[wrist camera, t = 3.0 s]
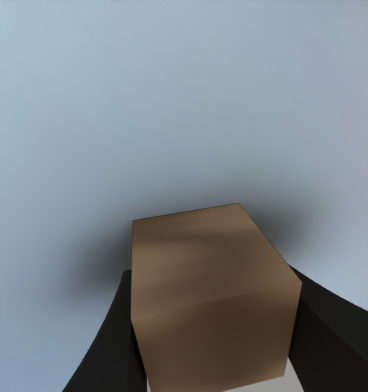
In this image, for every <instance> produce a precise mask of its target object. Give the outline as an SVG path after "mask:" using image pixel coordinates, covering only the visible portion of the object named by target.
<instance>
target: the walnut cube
mask: <svg viewBox="0 0 368 392" xmlns="http://www.w3.org/2000/svg"><path fill="white" fill-rule="evenodd" d="M301 286H302V282H301V280H300V279H299V278H298V277H297V275H296V274H295V273H294V272H293V270H292V269H291V268H290V267H289V265H288V264H287V263H286V262H285V260H284V259H283V258H282V257H281V255H280V254H279V253H278V252H277V250H276V249H275V248H274V247H273V245H272V244H271V243H270V241H269V240H268V239H267V238H266V236H265V235H264V234H263V233H262V231H261V230H260V229H259V228H258V226H257V225H256V224H255V223H254V221H253V220H252V219H251V218H250V216H249V215H248V214H247V213H246V211H245V210H244V209H243V208H242V206H241V205H240V204H239V203H237V204H231V205H225V206H219V207H213V208H206V209H200V210H194V211H188V212H182V213H176V214H169V215H163V216H157V217H151V218H145V219H138V220H133V234H132V284H131V321H132V324H133V328H134V332H135V335H136V339H137V343H138V346H139V350H140V353H141V357H142V361H143V364H144V368H145V372H146V375H147V379H148V383H149V386H150V390H151V392H223V391H227V390H231V389H235V388H239V387H243V386H247V385H251V384H254V383H258V382H262V381H266V380H270V379H274V378H278V377H282V376H284V374H285V369H286V364H287V359H288V353H289V348H290V343H291V338H292V333H293V328H294V322H295V317H296V312H297V307H298V302H299V297H300V291H301Z"/></svg>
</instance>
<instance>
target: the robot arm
mask: <svg viewBox="0 0 368 392" xmlns="http://www.w3.org/2000/svg"><path fill="white" fill-rule="evenodd" d="M288 265H289V264H288ZM289 267H290V268H291V269H292V270H293V272H294V273H295V274H296V275H297V277H298V278H299V279H300V280H301V282H302V286H301V291H300V297H299V302H298V307H297V312H296V317H295V322H294V328H293V333H292V338H291V343H290V348H289V353H288V358H289V360H290V362H291V364H292V366H293V369H294V371H295V373H296V375H297V377H298V380H299V382H300V384H301V386H302V389H303V391H304V392H368V311H366V310H364V309H362V308H360V307H358V306H356V305H354V304H353V303H351V302H349V301H347V300H345V299H343V298H341V297H339V296H338V295H336V294H334V293H332V292H331V291H329V290H327V289H326V288H324V287H322V286H321V285H319V284H317V283H316V282H314V281H313V280H311V279H310V278H308V277H306V276H305V275H303V274H302V273H300V272H299V271H298V270H296V269H295V268H293V267H292V266H290V265H289ZM131 284H132V270H126V271H125V272H124V273H123V275H122V279H121V282H120V285H119V287H118V290H117V292H116V295H115V297H114V300H113V302H112V304H111V307H110V309H109V311H108V313H107V315H106V318H105V320H104V322H103V324H102V325H101V327H100V329H99V331H98V333H97V335H96V337H95V339H94V341H93V343H92V345H91V346H90V348H89V350H88V352H87V353H86V355H85V357H84V358H83V360H82V362H81V363H80V365H79V366H78V368H77V370H76V371H75V373H74V374H73V376H72V377H71V379H70V380H69V382H68V383H67V385H66V387H65V388H64V389H63V391H62V392H147V375H146V372H145V368H144V364H143V361H142V357H141V353H140V350H139V346H138V343H137V339H136V335H135V332H134V328H133V324H132V321H131Z"/></svg>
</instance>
